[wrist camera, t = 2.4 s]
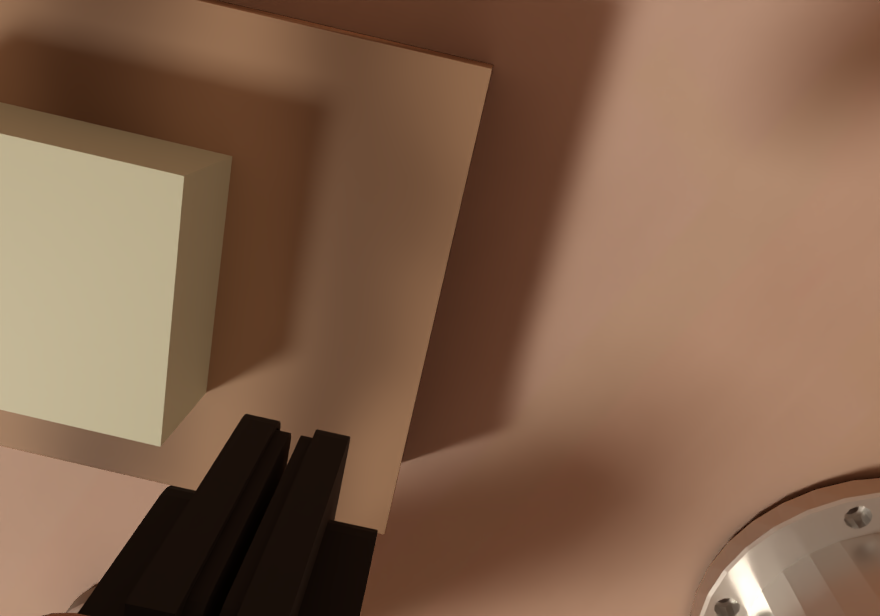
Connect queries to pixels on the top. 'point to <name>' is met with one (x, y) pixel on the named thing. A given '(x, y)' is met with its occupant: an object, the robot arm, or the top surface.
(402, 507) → the top surface
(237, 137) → the riser
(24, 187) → the tile
